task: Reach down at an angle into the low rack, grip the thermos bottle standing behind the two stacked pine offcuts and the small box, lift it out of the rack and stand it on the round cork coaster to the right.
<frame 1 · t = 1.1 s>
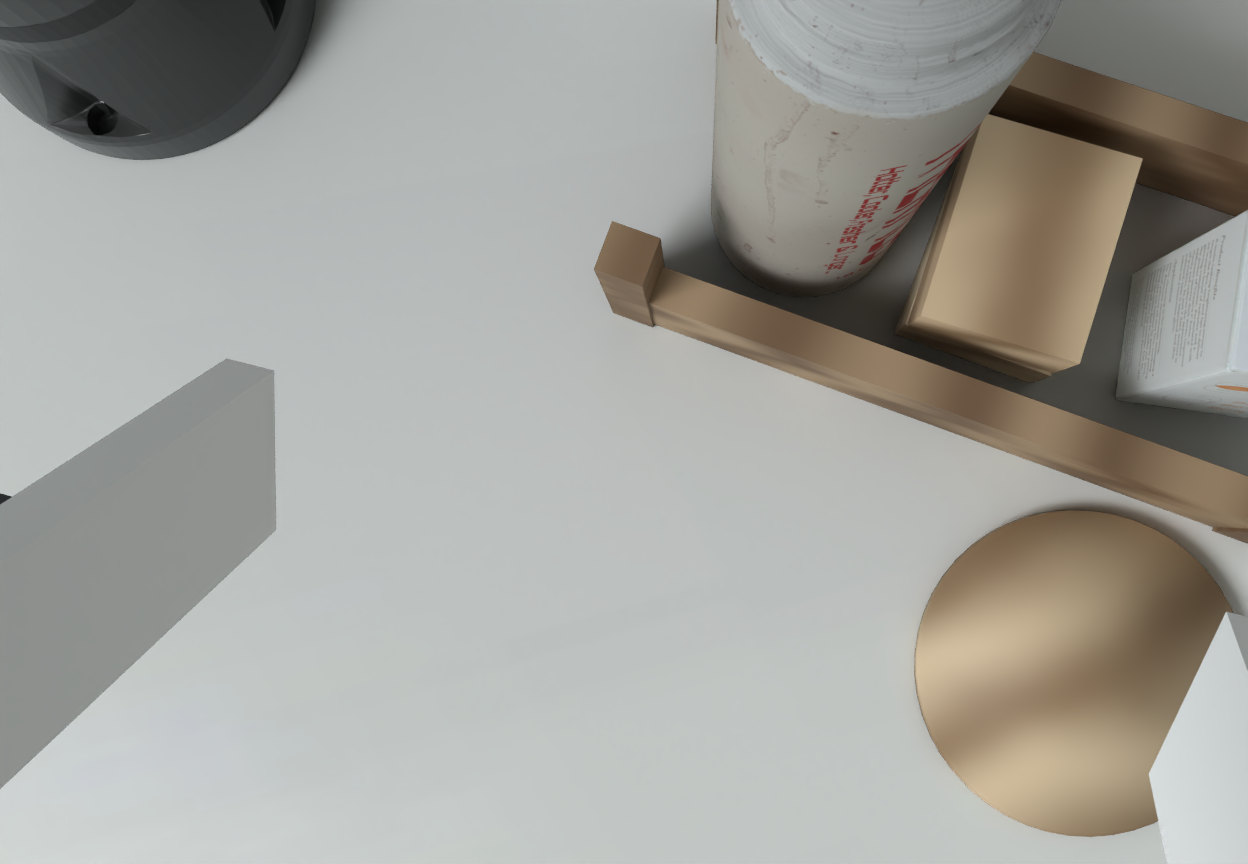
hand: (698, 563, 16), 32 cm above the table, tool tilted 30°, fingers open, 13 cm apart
upper offcut: (1009, 255, 45), point 3 cm above the table
rack: (984, 267, 47), on the table
coaster: (1075, 669, 46), on the table
thermos bottle: (804, 206, 48), on the table
lower offcut: (992, 271, 48), on the table
small box: (1215, 350, 47), on the table
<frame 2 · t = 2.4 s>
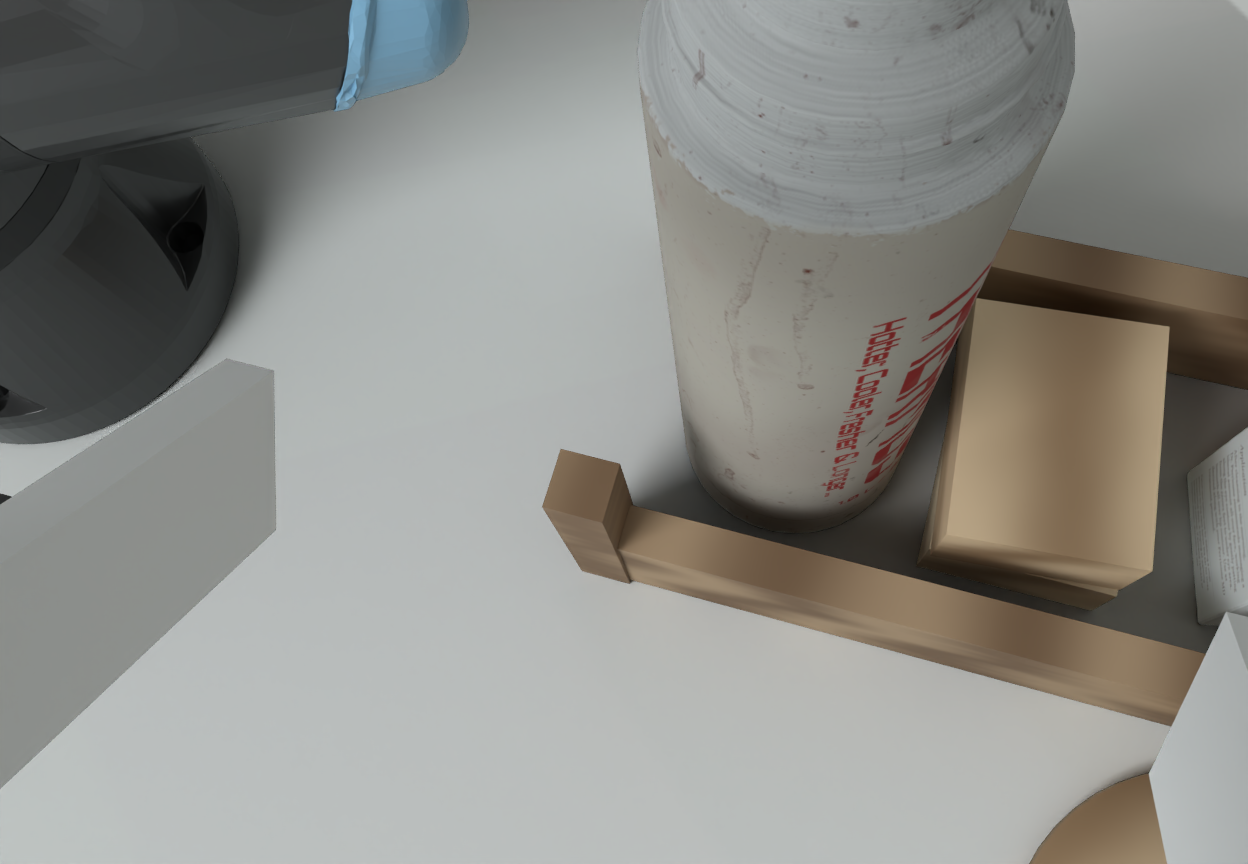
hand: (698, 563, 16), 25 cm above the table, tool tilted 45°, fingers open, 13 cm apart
upper offcut: (1035, 457, 38), point 3 cm above the table, touching lower offcut
rack: (1011, 481, 40), on the table
thermos bottle: (792, 431, 42), on the table
lower offcut: (1021, 483, 41), on the table, touching upper offcut
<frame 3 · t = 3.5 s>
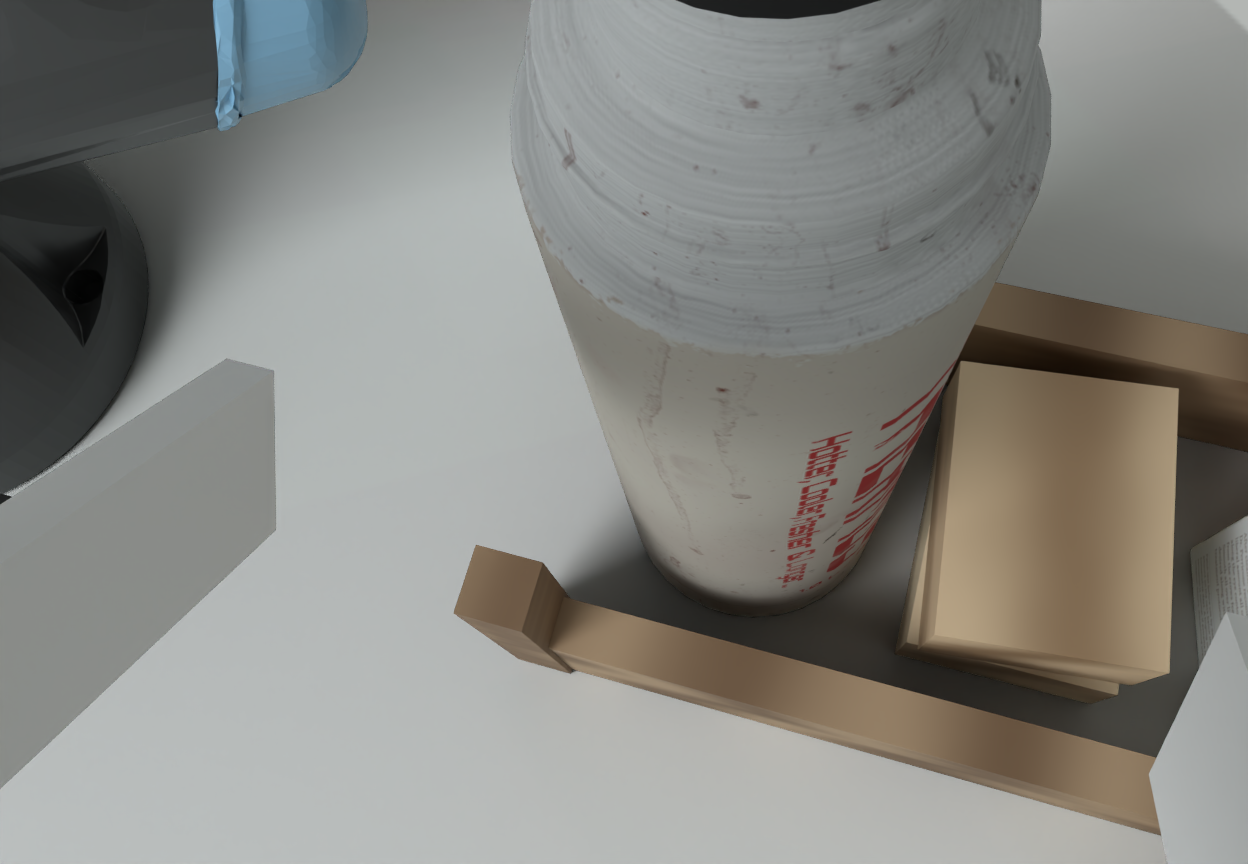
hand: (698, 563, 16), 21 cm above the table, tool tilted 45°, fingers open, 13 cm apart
upper offcut: (1032, 534, 34), point 3 cm above the table
rack: (995, 558, 36), on the table
thermos bottle: (752, 500, 38), on the table
lower offcut: (1009, 558, 37), on the table
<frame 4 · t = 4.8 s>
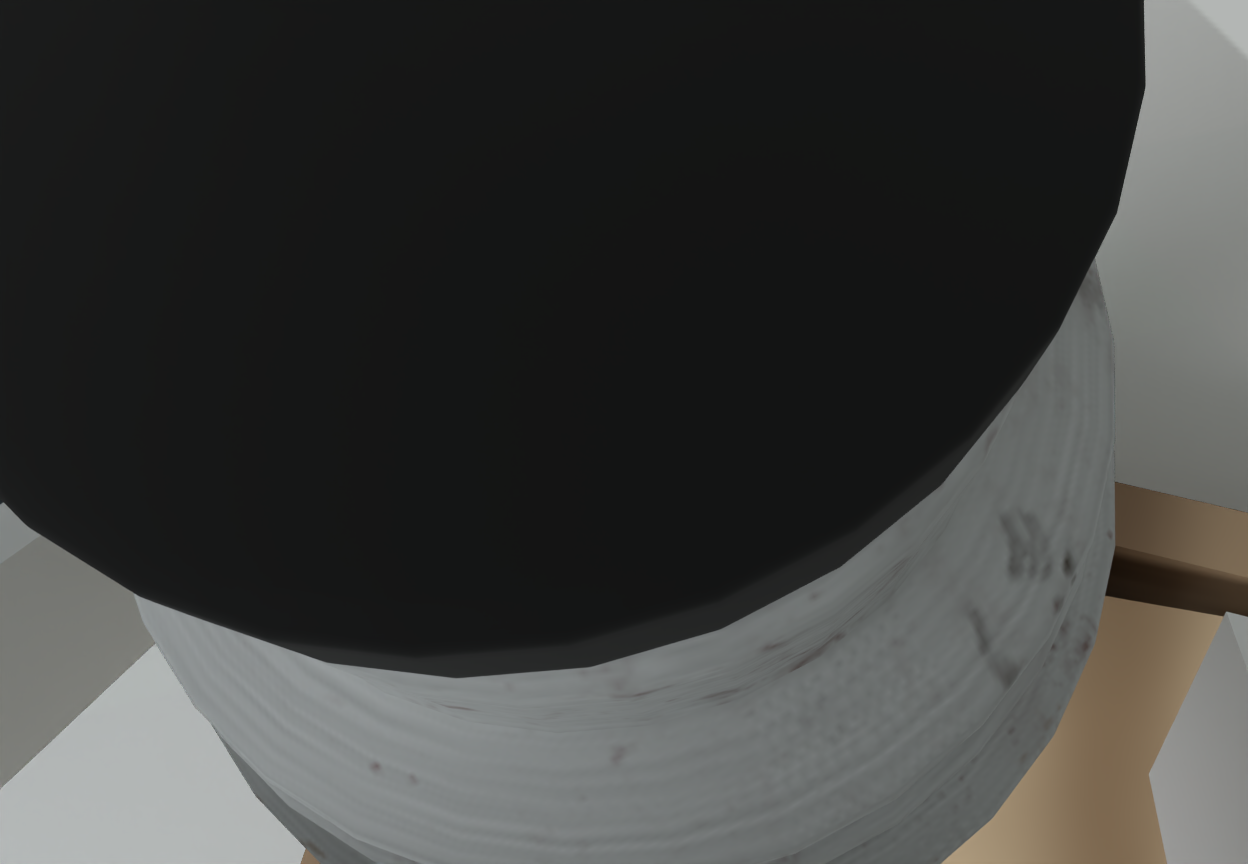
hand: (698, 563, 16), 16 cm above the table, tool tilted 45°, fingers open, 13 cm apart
upper offcut: (1052, 785, 27), point 3 cm above the table, touching lower offcut
rack: (999, 785, 29), on the table
thermos bottle: (699, 702, 31), on the table
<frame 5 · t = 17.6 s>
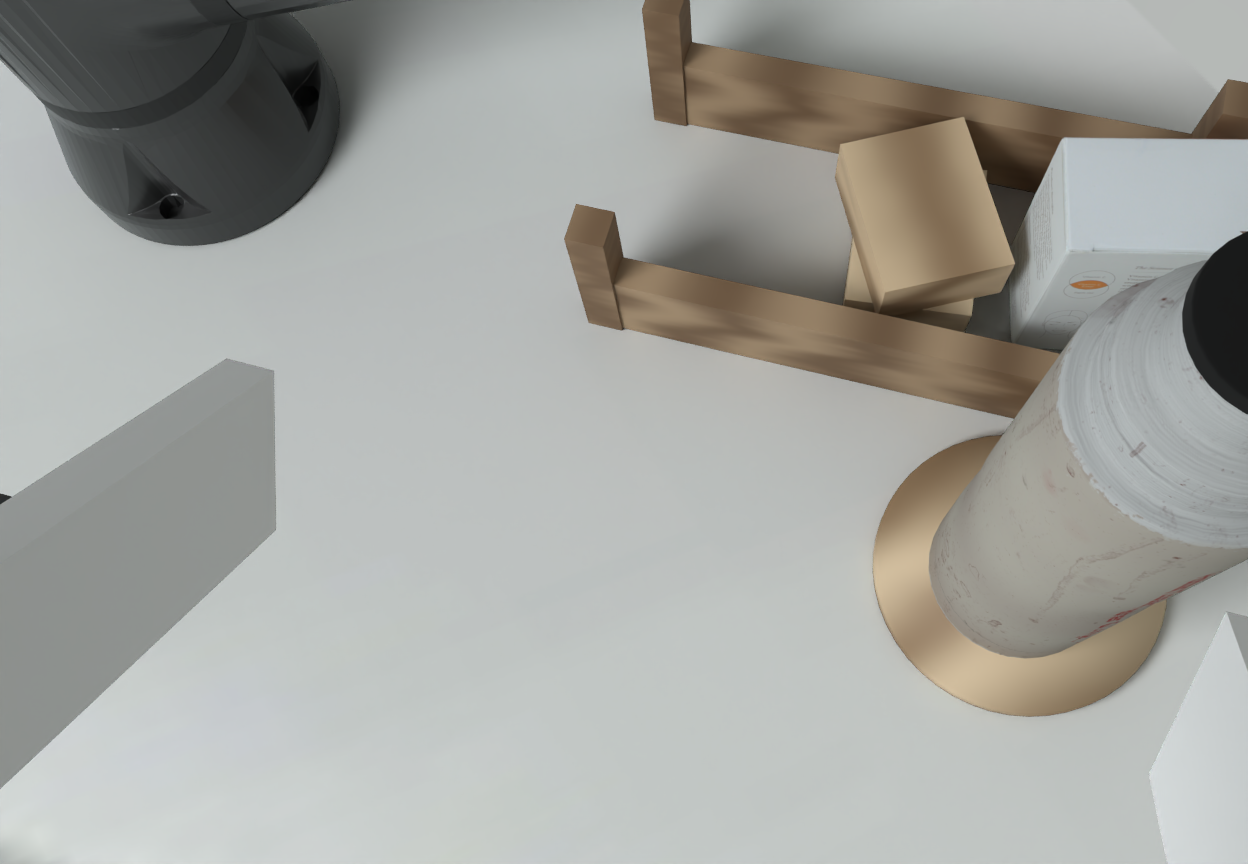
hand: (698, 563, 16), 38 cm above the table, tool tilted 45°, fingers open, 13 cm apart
upper offcut: (915, 233, 55), point 3 cm above the table, touching lower offcut
rack: (888, 259, 58), on the table
coaster: (1015, 572, 52), on the table
thermos bottle: (1015, 571, 52), resting on coaster
lower offcut: (908, 262, 58), on the table, touching upper offcut
small box: (1087, 304, 56), on the table
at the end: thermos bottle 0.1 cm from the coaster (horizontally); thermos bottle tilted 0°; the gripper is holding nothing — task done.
